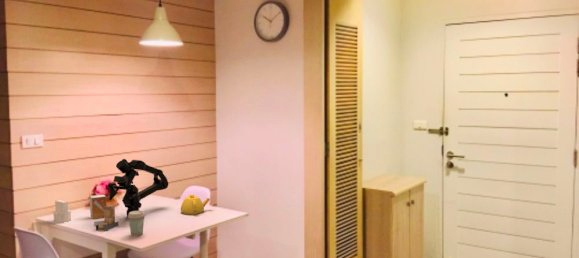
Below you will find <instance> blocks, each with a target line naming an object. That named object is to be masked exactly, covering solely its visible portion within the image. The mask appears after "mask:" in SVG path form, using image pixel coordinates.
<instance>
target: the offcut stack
mask: <svg viewBox="0 0 579 258" xmlns="http://www.w3.org/2000/svg"><path fill="white" fill-rule="evenodd" d="M98 225H99V227H98V230H97V231H101V232H104V231H103V227H104V226H107V223H101V224H98Z"/></svg>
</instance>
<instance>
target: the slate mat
mask: <svg viewBox="0 0 579 258" xmlns="http://www.w3.org/2000/svg"><path fill="white" fill-rule="evenodd" d="M101 223H104V220H98V221H97V220H96V221H93V226H94V227H96V225H98V224H101Z"/></svg>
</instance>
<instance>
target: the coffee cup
mask: <svg viewBox="0 0 579 258" xmlns="http://www.w3.org/2000/svg"><path fill="white" fill-rule="evenodd" d="M145 216H146V214H145V213H144V211H143V210H139V211H132V212H129V215H128V218H129V219H128V218H127V219H128V223H129V229H130V235H131V236H132V237H141V236H142V235H143V234H144V225H145V224H144V222H145Z"/></svg>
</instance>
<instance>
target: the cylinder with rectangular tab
mask: <svg viewBox="0 0 579 258" xmlns="http://www.w3.org/2000/svg"><path fill="white" fill-rule="evenodd" d="M54 207H55V210H54V211H53V223H54V222H56V223H55V224H65V223H64V222H67V223H70V222H72V215H71V214H72V211H71V209H69V202H68V201H67V200H63V199H57V200H54ZM69 221H70V222H69Z"/></svg>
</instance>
